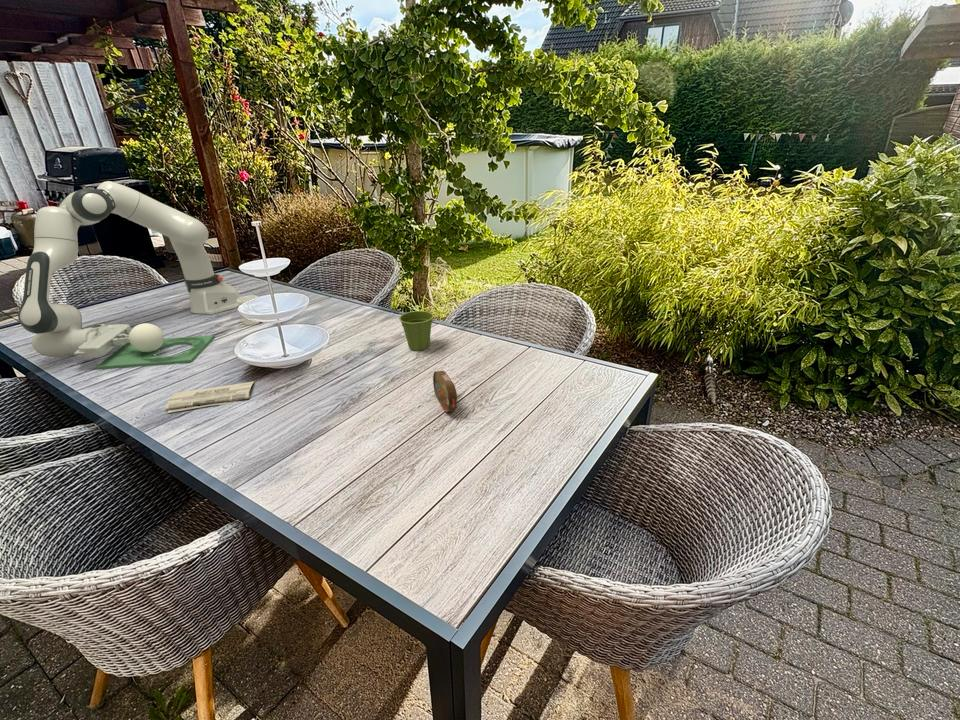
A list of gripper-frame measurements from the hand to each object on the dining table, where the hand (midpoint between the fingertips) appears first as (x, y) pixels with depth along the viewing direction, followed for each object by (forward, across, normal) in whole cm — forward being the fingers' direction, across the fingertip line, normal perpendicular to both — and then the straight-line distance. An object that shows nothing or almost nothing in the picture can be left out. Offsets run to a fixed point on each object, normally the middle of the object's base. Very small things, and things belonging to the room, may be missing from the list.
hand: (131, 338), depth 167 cm
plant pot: (+98, -11, +6) cm, 99 cm away
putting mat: (+7, 0, +6) cm, 9 cm away
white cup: (+32, +24, +6) cm, 41 cm away
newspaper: (+39, -36, +7) cm, 53 cm away
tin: (+106, -50, +6) cm, 117 cm away
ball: (+5, 0, 0) cm, 5 cm away
